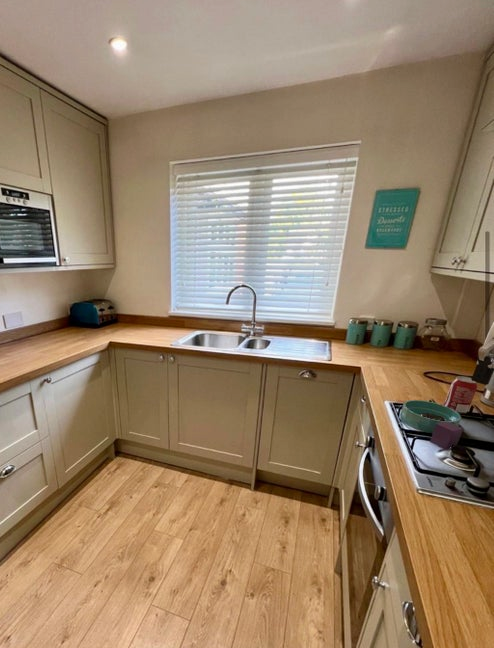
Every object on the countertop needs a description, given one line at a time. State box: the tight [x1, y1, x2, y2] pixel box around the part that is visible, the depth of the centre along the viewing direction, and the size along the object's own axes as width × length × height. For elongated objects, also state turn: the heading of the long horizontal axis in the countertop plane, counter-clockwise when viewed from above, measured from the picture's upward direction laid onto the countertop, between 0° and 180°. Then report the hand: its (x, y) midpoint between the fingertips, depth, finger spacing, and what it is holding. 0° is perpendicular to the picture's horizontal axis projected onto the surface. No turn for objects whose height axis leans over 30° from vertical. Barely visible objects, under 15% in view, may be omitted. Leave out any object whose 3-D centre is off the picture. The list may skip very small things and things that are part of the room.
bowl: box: [399, 399, 462, 434], centre depth 106 cm, size 15×15×5 cm
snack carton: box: [429, 421, 464, 451], centre depth 94 cm, size 4×4×6 cm
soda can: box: [443, 375, 478, 415], centre depth 114 cm, size 7×7×12 cm
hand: (492, 380), depth 76 cm, fingers open, 9 cm apart
